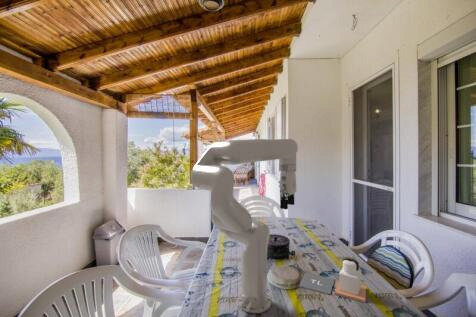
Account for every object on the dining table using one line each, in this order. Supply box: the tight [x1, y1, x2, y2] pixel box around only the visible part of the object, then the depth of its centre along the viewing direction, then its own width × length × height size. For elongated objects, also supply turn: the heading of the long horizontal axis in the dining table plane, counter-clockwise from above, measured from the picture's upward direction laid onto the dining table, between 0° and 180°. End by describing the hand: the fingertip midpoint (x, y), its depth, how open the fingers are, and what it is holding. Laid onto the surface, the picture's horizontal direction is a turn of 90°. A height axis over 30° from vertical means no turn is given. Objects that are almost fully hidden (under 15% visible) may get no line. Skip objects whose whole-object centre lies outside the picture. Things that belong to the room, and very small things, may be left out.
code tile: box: [298, 272, 335, 296], centre depth 106 cm, size 13×13×1 cm
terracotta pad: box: [334, 279, 367, 303], centre depth 100 cm, size 11×11×1 cm
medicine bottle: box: [338, 257, 362, 295], centre depth 100 cm, size 7×7×12 cm
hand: (287, 206), depth 108 cm, fingers open, 9 cm apart
